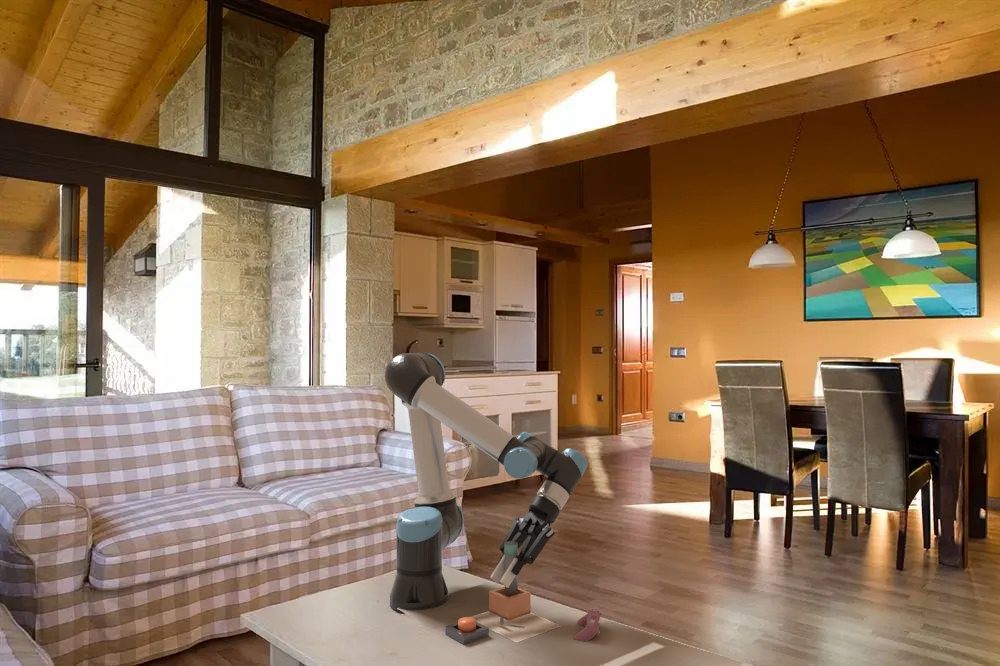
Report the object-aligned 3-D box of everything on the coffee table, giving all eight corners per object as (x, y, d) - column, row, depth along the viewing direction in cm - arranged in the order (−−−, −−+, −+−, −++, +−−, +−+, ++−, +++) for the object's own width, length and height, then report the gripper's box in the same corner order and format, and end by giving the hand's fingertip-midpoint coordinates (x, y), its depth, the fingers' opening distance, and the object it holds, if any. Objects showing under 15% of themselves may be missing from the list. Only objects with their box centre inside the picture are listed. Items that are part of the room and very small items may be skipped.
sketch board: (461, 622, 169) (461, 617, 169) (512, 606, 179) (512, 601, 179) (515, 650, 153) (515, 645, 153) (567, 631, 164) (567, 626, 164)
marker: (502, 592, 172) (501, 543, 172) (512, 589, 174) (511, 540, 174) (510, 595, 170) (510, 546, 170) (521, 592, 172) (520, 543, 172)
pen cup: (489, 611, 173) (489, 591, 173) (511, 604, 177) (511, 584, 177) (508, 620, 167) (507, 599, 167) (530, 613, 172) (530, 592, 172)
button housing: (445, 639, 159) (445, 626, 159) (470, 631, 164) (470, 618, 164) (463, 650, 154) (463, 636, 154) (488, 641, 158) (488, 628, 158)
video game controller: (589, 653, 156) (604, 626, 155) (571, 643, 156) (585, 615, 156) (592, 635, 165) (605, 609, 165) (575, 625, 166) (588, 599, 166)
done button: (454, 628, 159) (454, 620, 159) (468, 624, 162) (468, 615, 162) (465, 634, 156) (465, 625, 156) (479, 629, 159) (479, 621, 159)
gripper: (578, 517, 176) (529, 600, 165) (534, 506, 188) (486, 582, 177) (563, 499, 172) (512, 582, 162) (519, 489, 185) (469, 565, 174)
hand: (499, 582), depth 170 cm, fingers closed on marker, 3 cm apart
